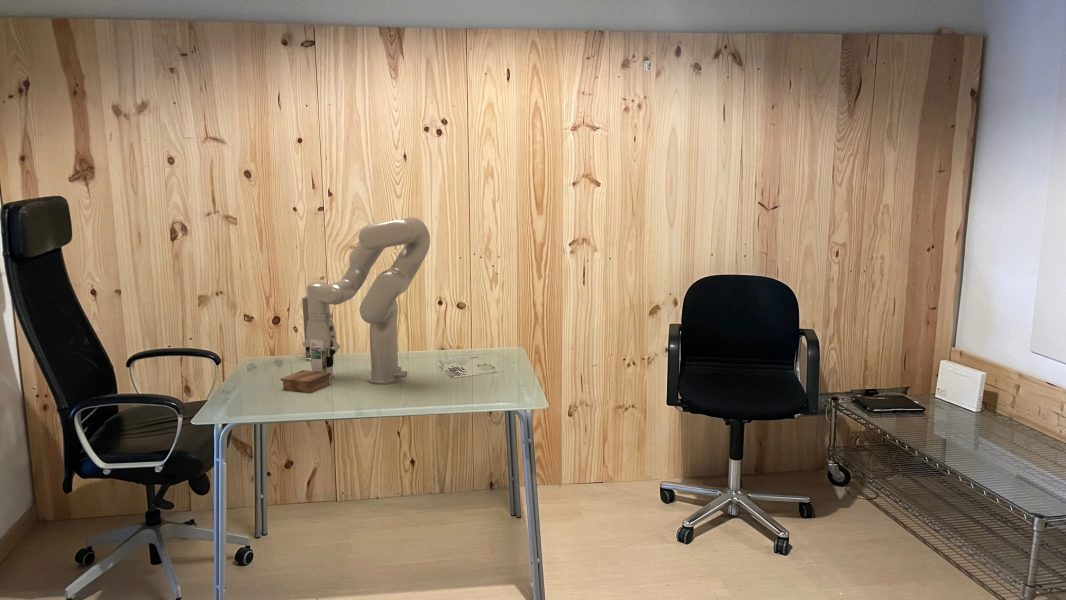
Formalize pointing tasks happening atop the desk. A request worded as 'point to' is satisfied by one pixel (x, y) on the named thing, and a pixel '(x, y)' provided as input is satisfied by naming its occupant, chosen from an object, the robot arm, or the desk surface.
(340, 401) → the desk surface
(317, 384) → the walnut stand
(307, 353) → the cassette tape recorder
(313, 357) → the syrup box
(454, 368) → the office telephone
